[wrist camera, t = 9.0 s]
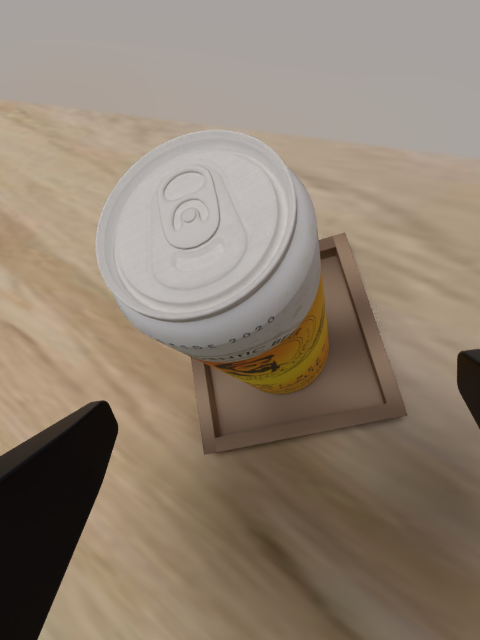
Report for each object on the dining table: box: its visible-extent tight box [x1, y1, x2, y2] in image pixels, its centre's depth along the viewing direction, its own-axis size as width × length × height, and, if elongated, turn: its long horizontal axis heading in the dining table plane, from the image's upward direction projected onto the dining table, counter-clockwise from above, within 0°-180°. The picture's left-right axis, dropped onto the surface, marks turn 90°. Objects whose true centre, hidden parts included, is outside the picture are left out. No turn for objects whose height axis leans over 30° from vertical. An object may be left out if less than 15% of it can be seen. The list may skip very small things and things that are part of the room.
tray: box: [191, 233, 407, 455], centre depth 22 cm, size 12×12×2 cm
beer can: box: [96, 130, 329, 394], centre depth 15 cm, size 6×6×15 cm
